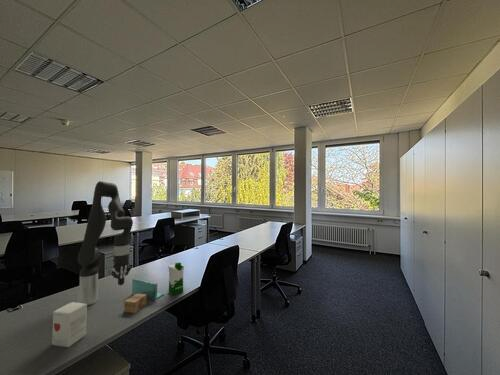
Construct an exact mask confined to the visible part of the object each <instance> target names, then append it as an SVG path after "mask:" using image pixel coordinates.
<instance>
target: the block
mask: <svg viewBox="0 0 500 375" xmlns="http://www.w3.org/2000/svg"><path fill="white" fill-rule="evenodd" d="M147 301H148V298H147V294H138V293H136V294H135V295H133V294H132V296H131V297H130V296H129V298H127V299H126V300H125V301H124V303H123V304H124V306H123V308H124V309H123V312H124V313H134V314H135V313H137V312H138V311H140V310H141V309H142V308H144V307H145V306H146V305H147V303H148V302H147Z"/></svg>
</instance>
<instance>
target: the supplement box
mask: <svg viewBox="0 0 500 375" xmlns="http://www.w3.org/2000/svg"><path fill="white" fill-rule="evenodd" d="M87 311H88V305H87V304H84V303H77V302H76V301H75V302H74V301H73V302H72V301H71V302H69V303H67V304H66V305H65V304H64V306H61V307H60V308H57V309H56V310H54V311H53V312H52V340H51V342H52V343H51V345H52V346H58V347H65V348H70V347H71V346H73V345H74V344H76V343H77V342H78V341H80V339H82V338H83V337H85V336H86V335H87V320H88V319H87V318H88V317H87V314H88V312H87Z"/></svg>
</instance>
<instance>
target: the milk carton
mask: <svg viewBox="0 0 500 375" xmlns="http://www.w3.org/2000/svg"><path fill="white" fill-rule="evenodd" d="M184 269H185V265H184V264H182V263H181V262H175V263H174V264H170V265H168V273H169V274H168V293H169V294H171V295H173V296H177V295H179V294H181V293H184Z"/></svg>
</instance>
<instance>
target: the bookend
mask: <svg viewBox="0 0 500 375" xmlns="http://www.w3.org/2000/svg"><path fill="white" fill-rule="evenodd" d="M131 285H132V286H131V295H132V296H133V295H135V294H136V293H138V294H147V300H153V301H156V300H158V299H160V298H161V297H163V296H164V295H165V293H162V292H158V283H157V282H154V281H148V280H144V279H139V278H133V279H132V284H131Z"/></svg>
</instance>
